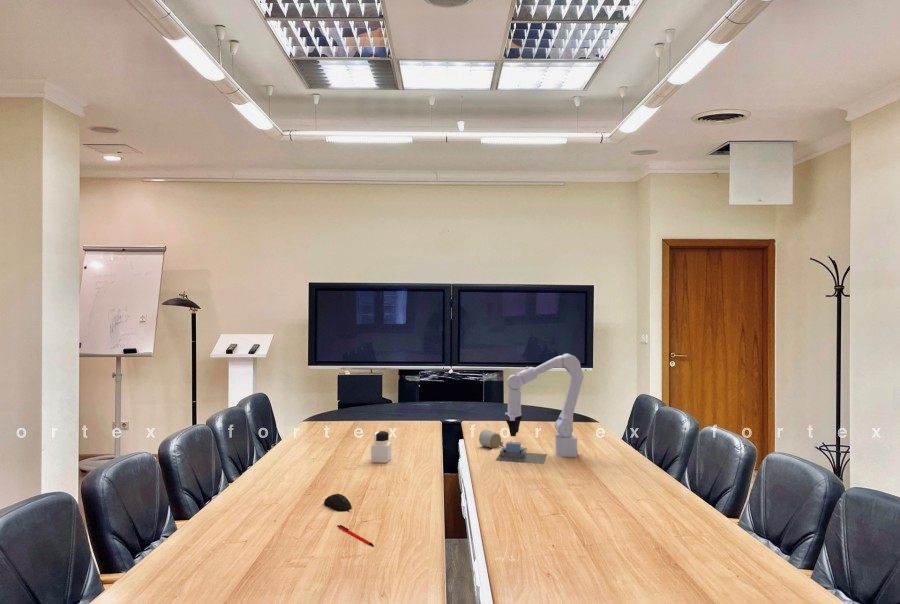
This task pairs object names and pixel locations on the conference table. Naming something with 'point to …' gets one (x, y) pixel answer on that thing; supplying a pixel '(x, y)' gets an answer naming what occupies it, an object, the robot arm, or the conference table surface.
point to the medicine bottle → (381, 447)
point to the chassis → (521, 457)
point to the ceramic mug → (490, 439)
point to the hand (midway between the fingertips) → (514, 434)
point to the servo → (513, 447)
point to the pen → (355, 535)
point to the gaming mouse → (338, 503)
